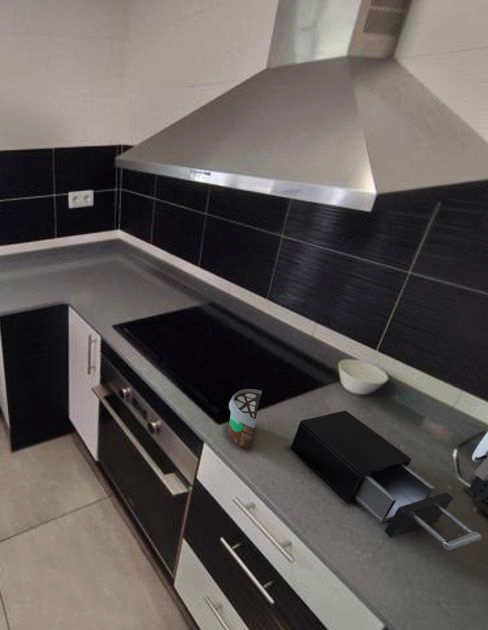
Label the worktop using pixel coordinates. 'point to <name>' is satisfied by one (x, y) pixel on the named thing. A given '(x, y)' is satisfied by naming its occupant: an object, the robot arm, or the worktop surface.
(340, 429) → the mini drawer cabinet
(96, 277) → the worktop surface
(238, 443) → the food container
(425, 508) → the drawer
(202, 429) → the worktop surface
